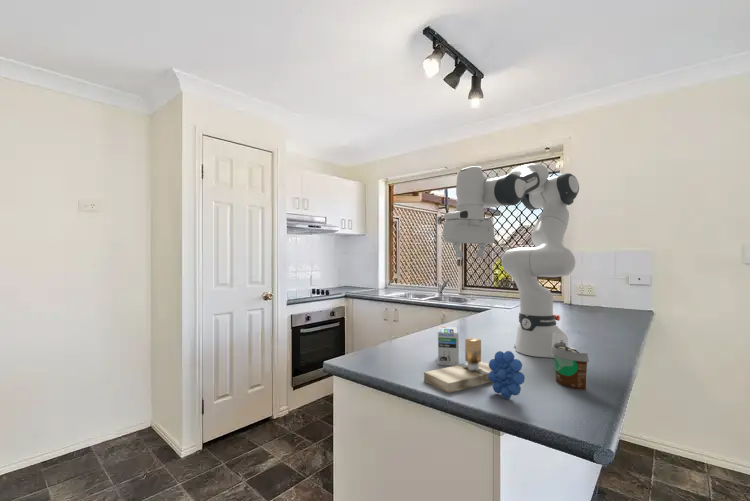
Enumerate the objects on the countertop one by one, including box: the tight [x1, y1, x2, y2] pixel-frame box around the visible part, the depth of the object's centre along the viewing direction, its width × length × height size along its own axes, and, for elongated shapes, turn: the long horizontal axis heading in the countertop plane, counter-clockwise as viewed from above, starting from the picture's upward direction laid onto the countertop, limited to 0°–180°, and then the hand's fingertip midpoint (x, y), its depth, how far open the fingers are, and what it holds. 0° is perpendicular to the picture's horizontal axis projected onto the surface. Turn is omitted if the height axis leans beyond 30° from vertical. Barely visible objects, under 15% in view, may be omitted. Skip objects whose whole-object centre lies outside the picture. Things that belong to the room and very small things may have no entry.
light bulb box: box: [437, 325, 460, 367], centre depth 118 cm, size 11×7×11 cm, turn 169°
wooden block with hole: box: [423, 361, 493, 394], centre depth 100 cm, size 22×10×3 cm, turn 120°
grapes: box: [488, 350, 526, 399], centre depth 88 cm, size 12×7×12 cm, turn 22°
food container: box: [551, 343, 589, 391], centre depth 98 cm, size 12×6×10 cm, turn 178°
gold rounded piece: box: [464, 337, 482, 372], centre depth 102 cm, size 4×4×11 cm
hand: (469, 257), depth 115 cm, fingers open, 8 cm apart
